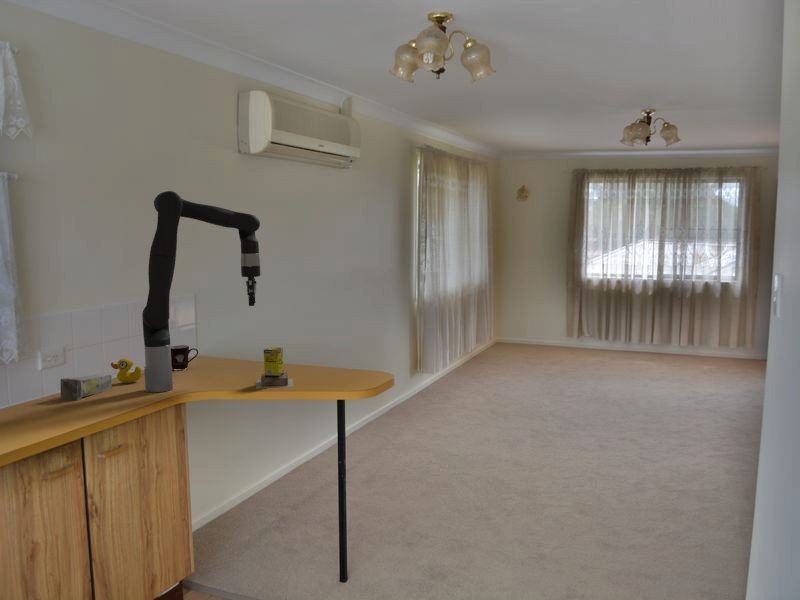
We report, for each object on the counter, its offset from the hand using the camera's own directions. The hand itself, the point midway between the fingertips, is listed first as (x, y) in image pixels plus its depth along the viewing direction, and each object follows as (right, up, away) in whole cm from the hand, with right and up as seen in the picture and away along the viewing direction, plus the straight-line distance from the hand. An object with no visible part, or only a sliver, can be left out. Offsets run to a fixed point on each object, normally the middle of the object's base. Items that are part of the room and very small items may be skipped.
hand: (252, 304), depth 257 cm
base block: (+11, -31, -9) cm, 34 cm away
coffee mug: (-36, -29, +23) cm, 52 cm away
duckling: (-49, -32, -2) cm, 59 cm away
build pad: (+11, -31, -9) cm, 34 cm away
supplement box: (+11, -28, -9) cm, 31 cm away
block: (-57, -34, -19) cm, 69 cm away
